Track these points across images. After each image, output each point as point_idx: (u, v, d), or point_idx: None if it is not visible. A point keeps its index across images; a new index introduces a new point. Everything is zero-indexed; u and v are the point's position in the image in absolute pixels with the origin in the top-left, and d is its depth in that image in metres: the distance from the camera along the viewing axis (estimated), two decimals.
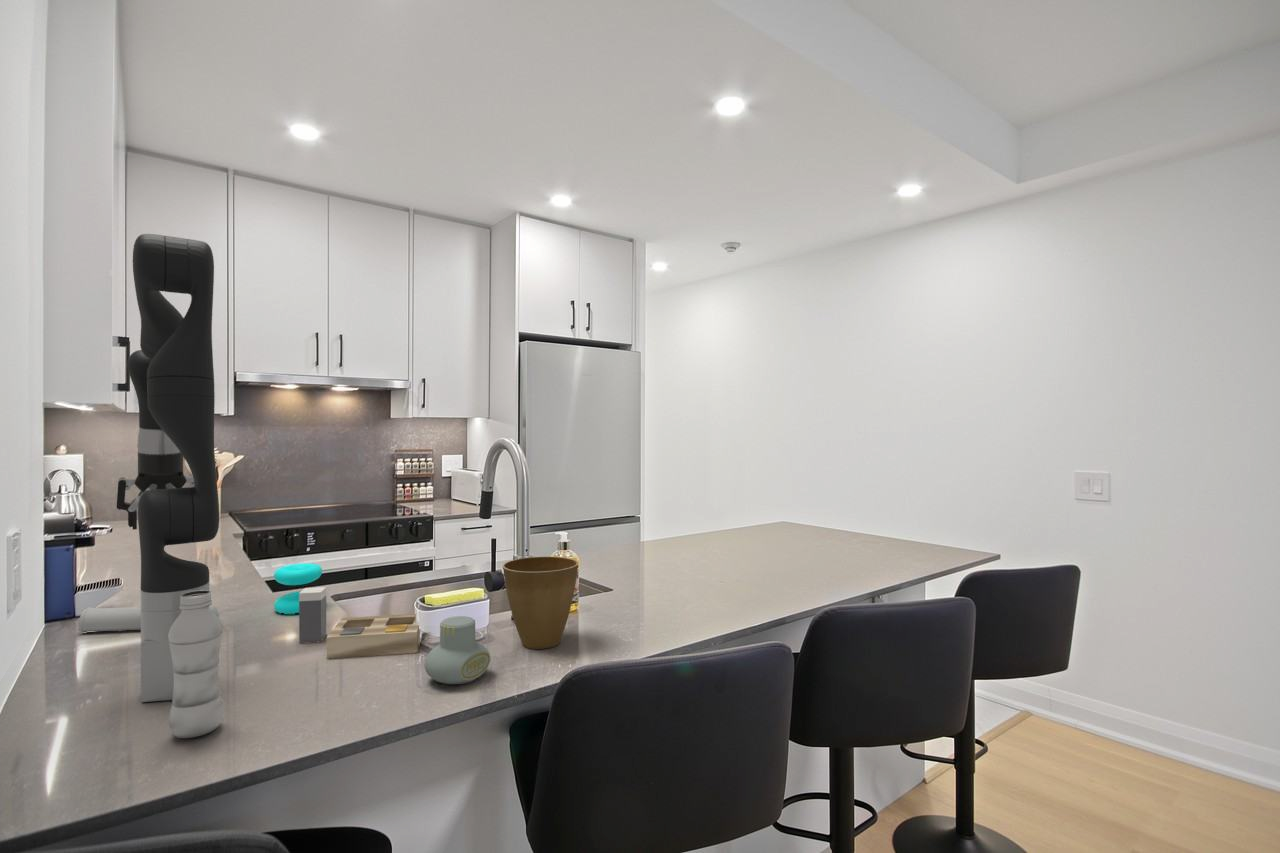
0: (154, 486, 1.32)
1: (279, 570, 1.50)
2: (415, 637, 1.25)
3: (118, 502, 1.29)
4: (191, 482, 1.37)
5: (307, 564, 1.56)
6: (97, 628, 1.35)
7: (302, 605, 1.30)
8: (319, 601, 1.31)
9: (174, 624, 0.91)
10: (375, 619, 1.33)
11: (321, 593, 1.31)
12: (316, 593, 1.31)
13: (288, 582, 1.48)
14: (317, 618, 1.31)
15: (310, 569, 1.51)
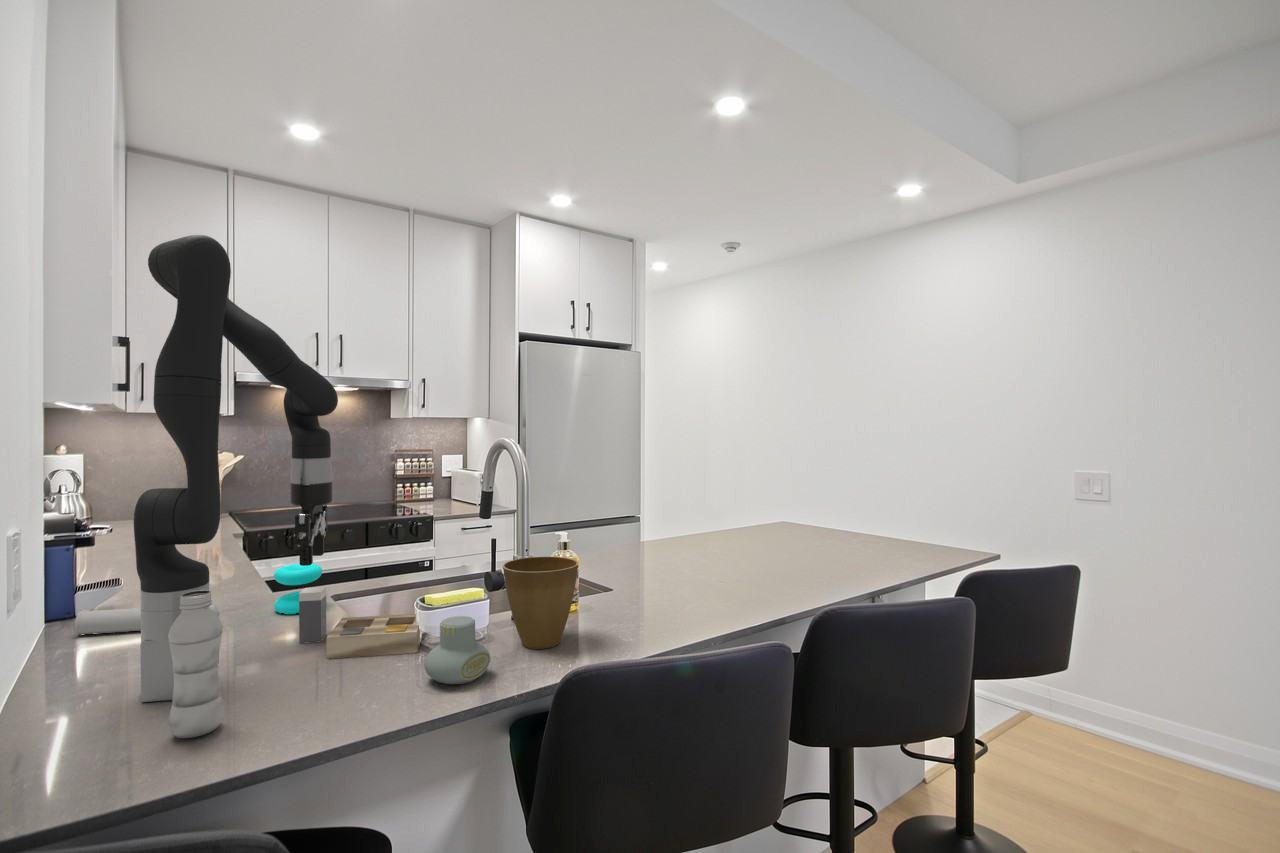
0: None
1: (279, 570, 1.50)
2: (415, 637, 1.25)
3: None
4: None
5: None
6: (93, 630, 1.34)
7: (302, 605, 1.30)
8: (319, 601, 1.31)
9: (174, 624, 0.91)
10: (375, 619, 1.33)
11: (321, 593, 1.31)
12: (316, 593, 1.31)
13: (288, 582, 1.48)
14: (317, 618, 1.31)
15: (310, 569, 1.51)
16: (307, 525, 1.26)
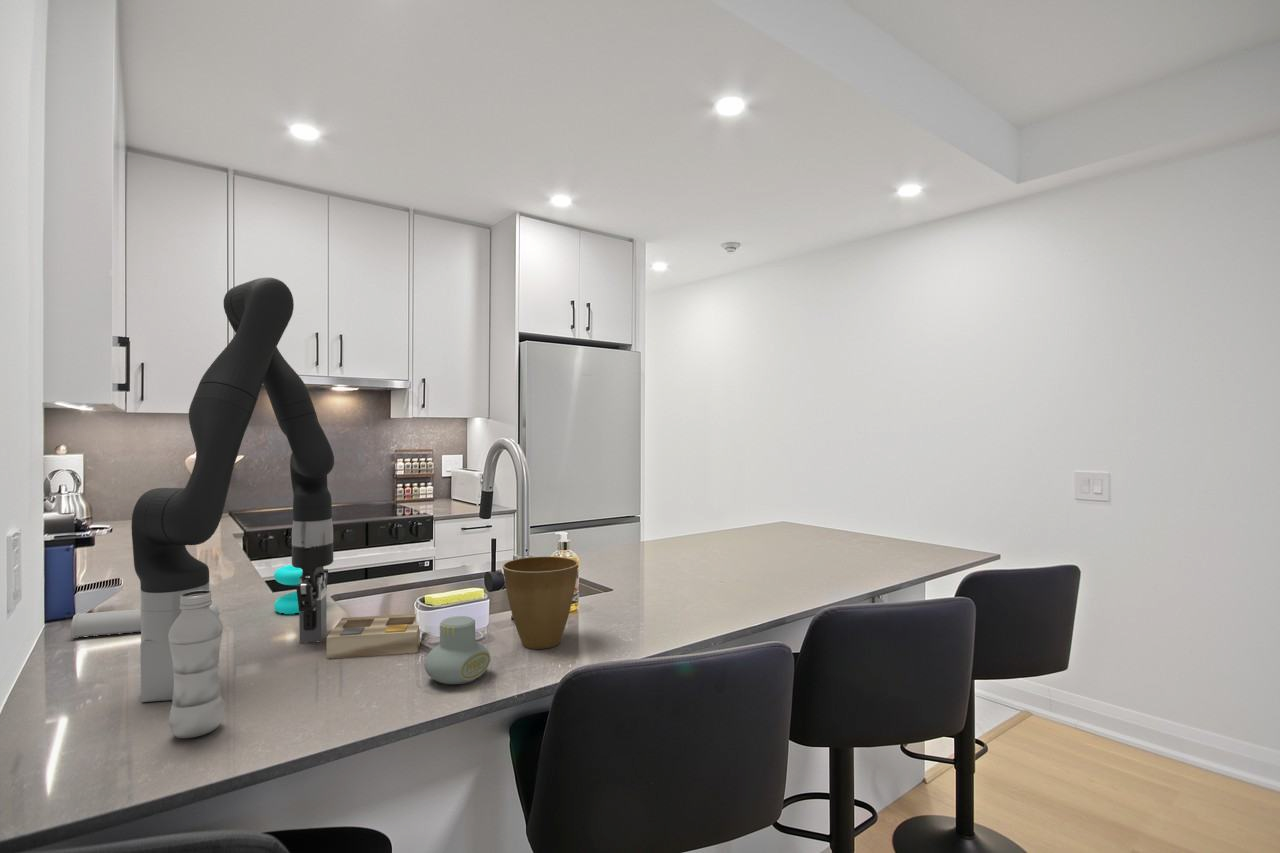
0: None
1: (279, 570, 1.50)
2: (415, 637, 1.25)
3: None
4: None
5: None
6: (91, 633, 1.32)
7: None
8: (319, 601, 1.31)
9: (174, 624, 0.91)
10: (375, 619, 1.33)
11: (321, 593, 1.31)
12: None
13: (288, 582, 1.48)
14: (317, 618, 1.31)
15: None
16: (309, 595, 1.27)
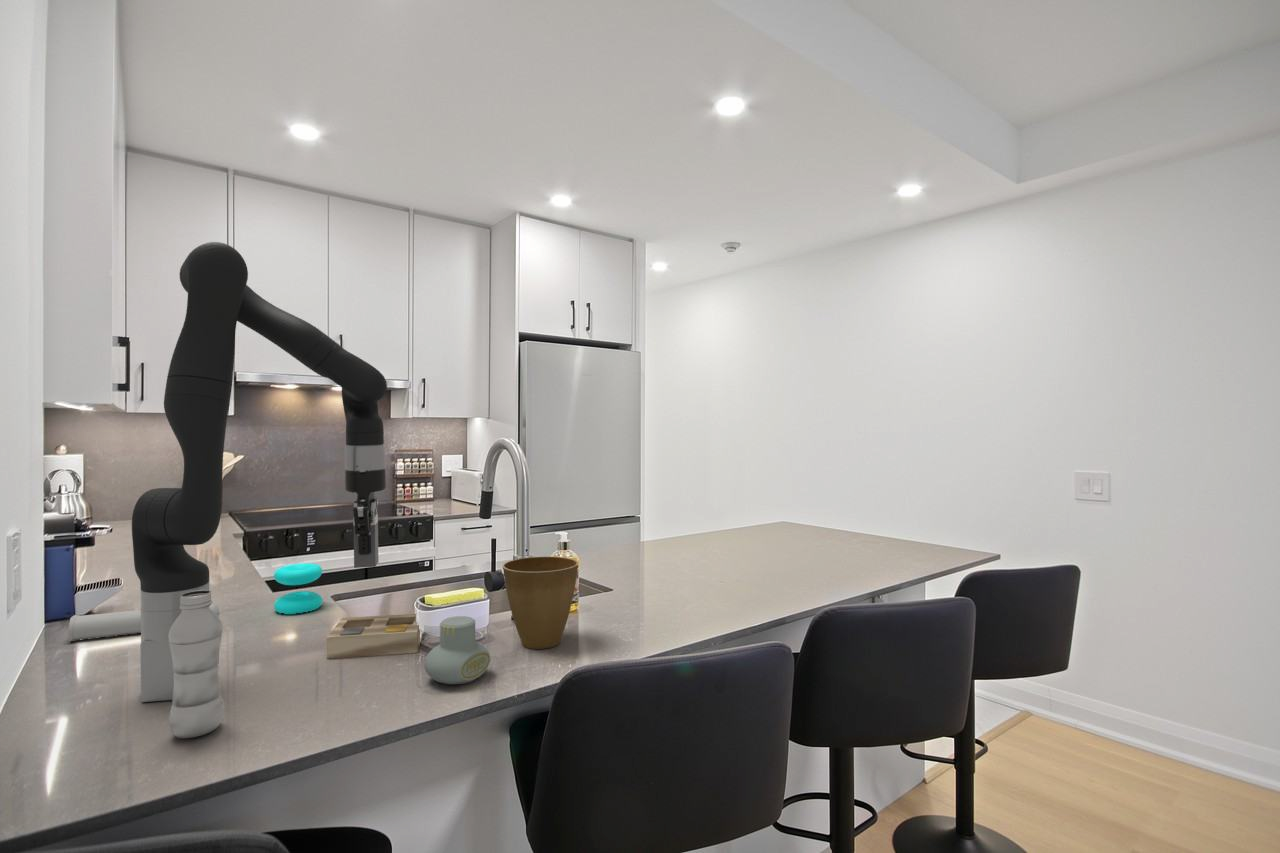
0: None
1: (279, 570, 1.50)
2: (415, 637, 1.25)
3: None
4: None
5: (307, 564, 1.56)
6: (89, 635, 1.31)
7: None
8: (373, 526, 1.31)
9: (174, 624, 0.91)
10: (375, 619, 1.33)
11: (375, 518, 1.31)
12: None
13: (288, 582, 1.48)
14: (371, 543, 1.31)
15: (310, 569, 1.51)
16: (366, 518, 1.27)
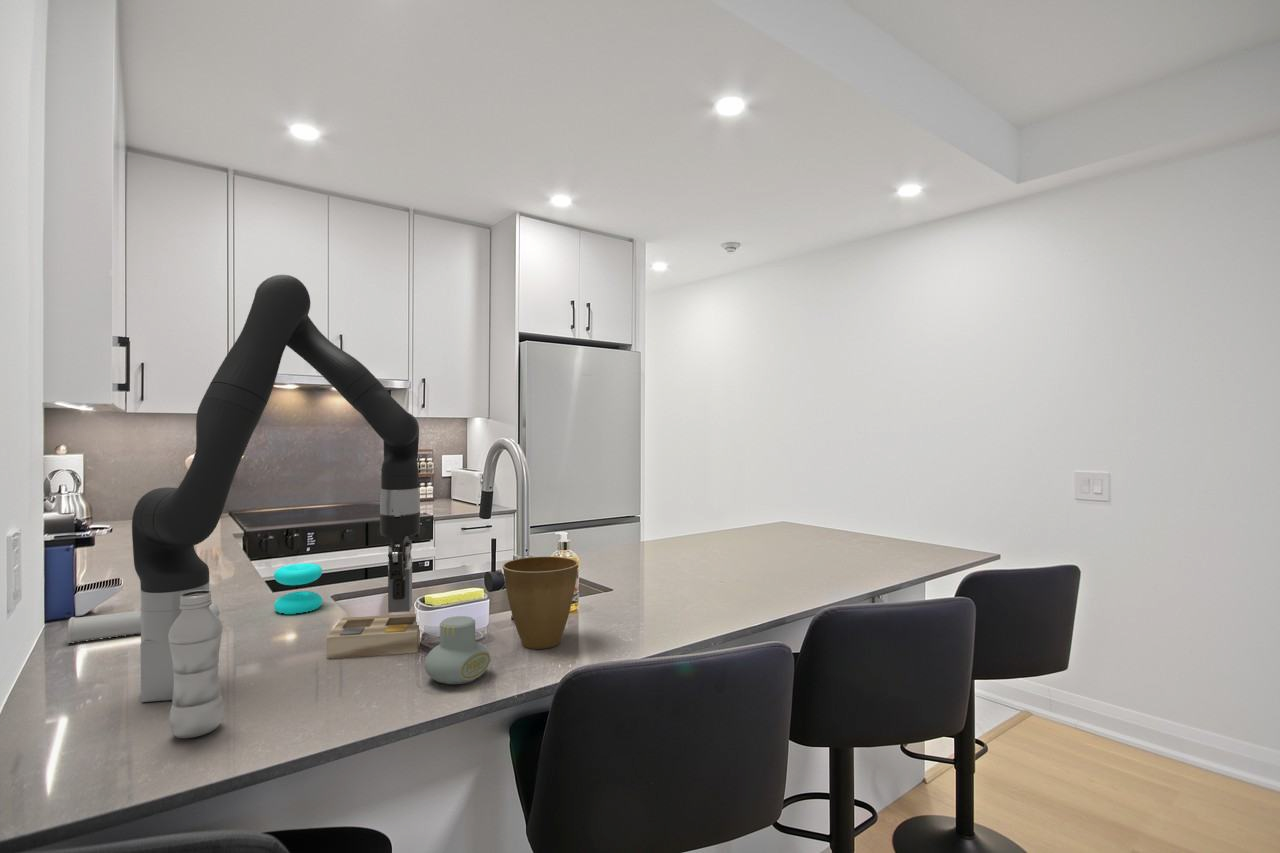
0: None
1: (279, 570, 1.50)
2: (415, 637, 1.25)
3: None
4: None
5: (307, 564, 1.56)
6: (88, 636, 1.30)
7: None
8: (408, 570, 1.30)
9: (174, 624, 0.91)
10: (375, 619, 1.33)
11: (409, 562, 1.30)
12: None
13: (288, 582, 1.48)
14: (405, 587, 1.30)
15: (310, 569, 1.51)
16: (401, 563, 1.26)
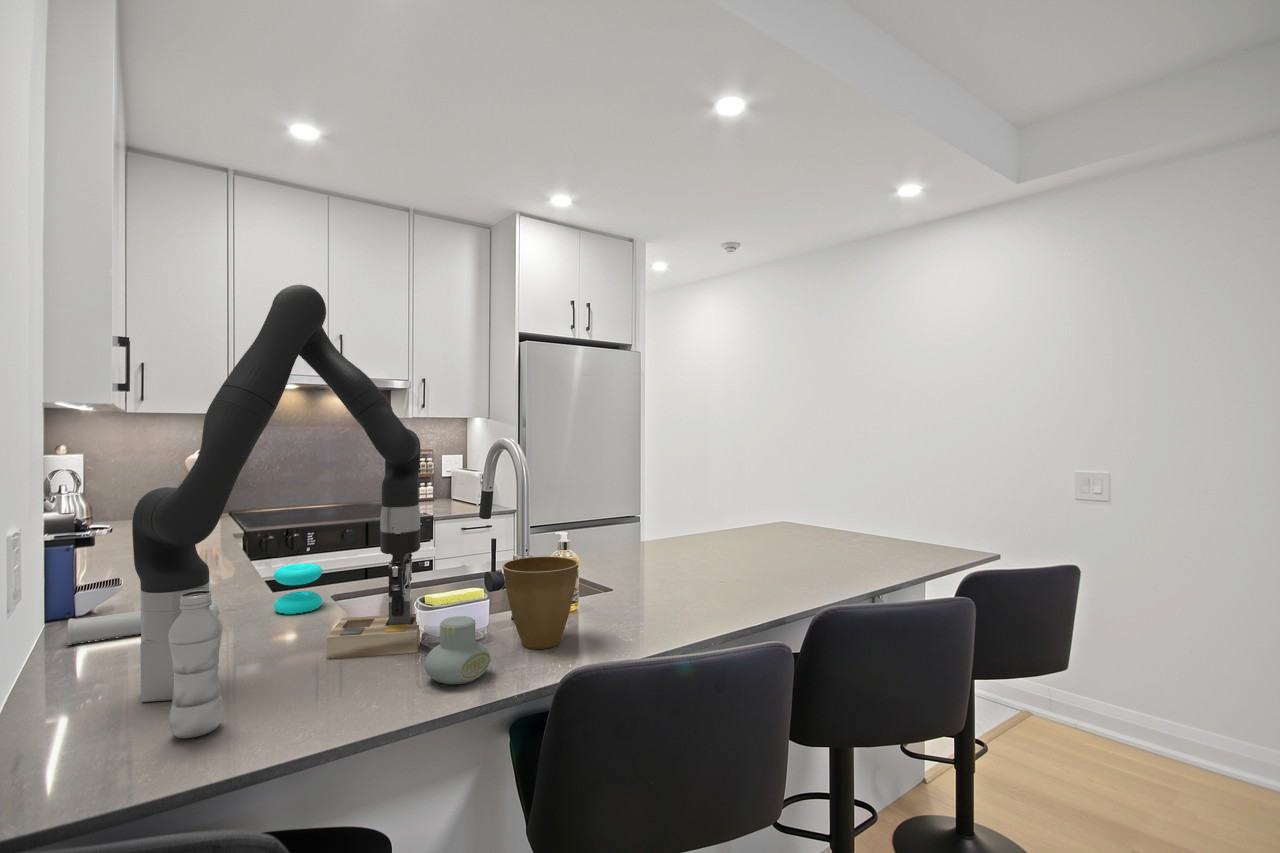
0: None
1: (279, 570, 1.50)
2: (415, 637, 1.25)
3: None
4: None
5: (307, 564, 1.56)
6: (88, 638, 1.29)
7: (391, 606, 1.29)
8: (408, 602, 1.30)
9: (174, 624, 0.91)
10: (375, 619, 1.33)
11: (410, 594, 1.31)
12: (405, 594, 1.30)
13: (288, 582, 1.48)
14: (406, 619, 1.30)
15: (310, 569, 1.51)
16: (400, 578, 1.25)
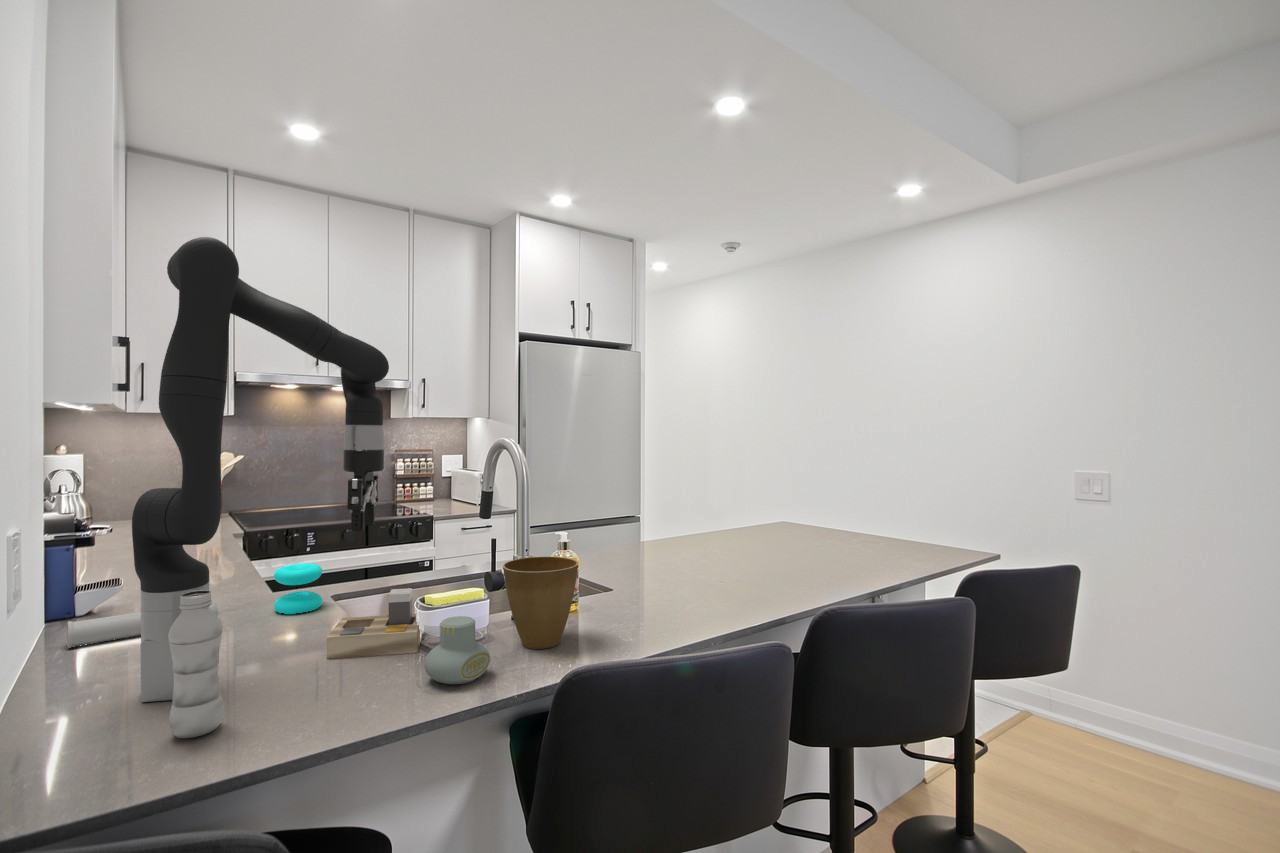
0: None
1: (279, 570, 1.50)
2: (415, 637, 1.25)
3: None
4: None
5: (307, 564, 1.56)
6: (90, 640, 1.28)
7: (391, 606, 1.29)
8: (408, 602, 1.30)
9: (174, 624, 0.91)
10: (375, 619, 1.33)
11: (410, 594, 1.31)
12: (405, 594, 1.30)
13: (288, 582, 1.48)
14: (406, 619, 1.30)
15: (310, 569, 1.51)
16: (360, 490, 1.26)
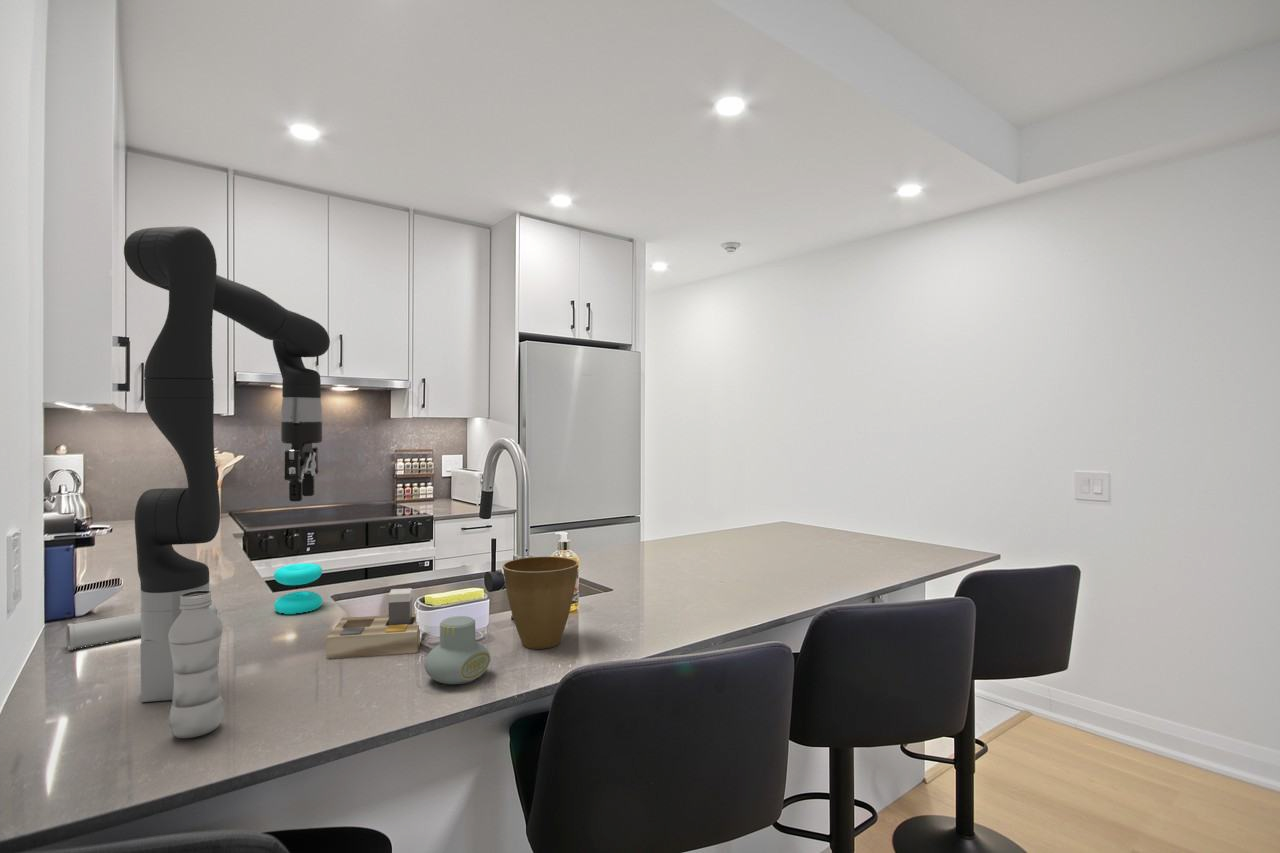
0: None
1: (279, 570, 1.50)
2: (415, 637, 1.25)
3: None
4: None
5: (307, 564, 1.56)
6: (91, 641, 1.27)
7: (391, 606, 1.29)
8: (408, 602, 1.30)
9: (174, 624, 0.91)
10: (375, 619, 1.33)
11: (410, 594, 1.31)
12: (405, 594, 1.30)
13: (288, 582, 1.48)
14: (406, 619, 1.30)
15: (310, 569, 1.51)
16: (297, 460, 1.29)
